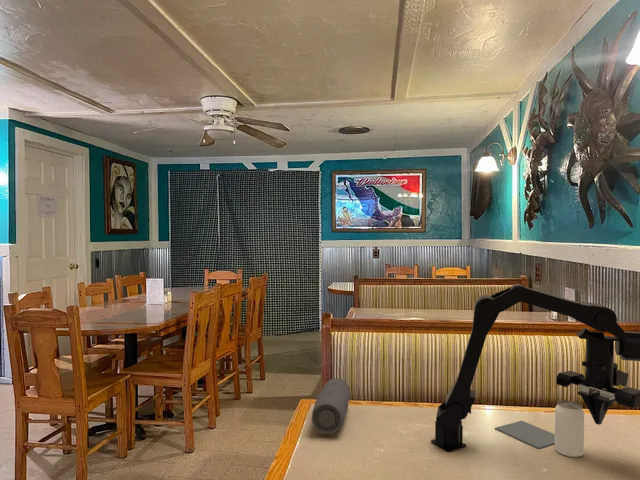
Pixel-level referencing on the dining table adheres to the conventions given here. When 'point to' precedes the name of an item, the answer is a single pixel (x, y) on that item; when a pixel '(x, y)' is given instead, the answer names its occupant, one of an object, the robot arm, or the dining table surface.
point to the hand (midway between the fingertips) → (598, 423)
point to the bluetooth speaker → (331, 406)
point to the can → (569, 429)
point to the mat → (528, 434)
